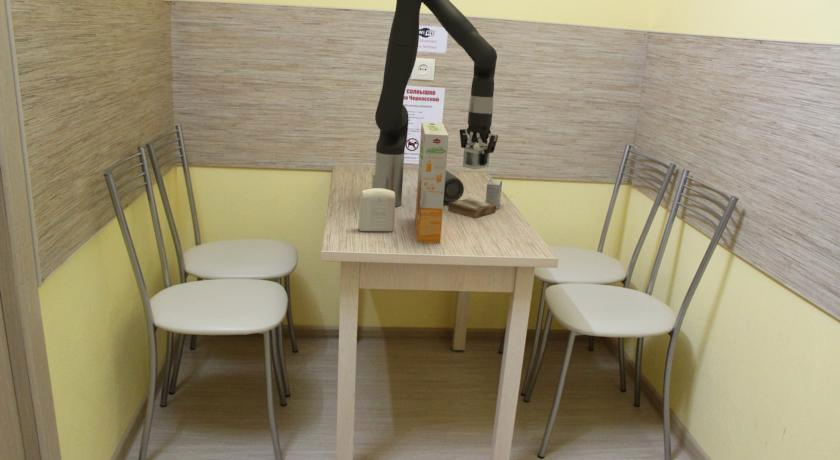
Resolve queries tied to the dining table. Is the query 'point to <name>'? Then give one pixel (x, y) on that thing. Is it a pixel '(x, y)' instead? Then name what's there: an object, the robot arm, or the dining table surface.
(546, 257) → the dining table surface
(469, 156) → the steel housing
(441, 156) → the cereal box
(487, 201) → the medicine box
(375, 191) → the beige upright block
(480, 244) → the dining table surface
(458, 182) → the bluetooth speaker
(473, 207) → the walnut frame
